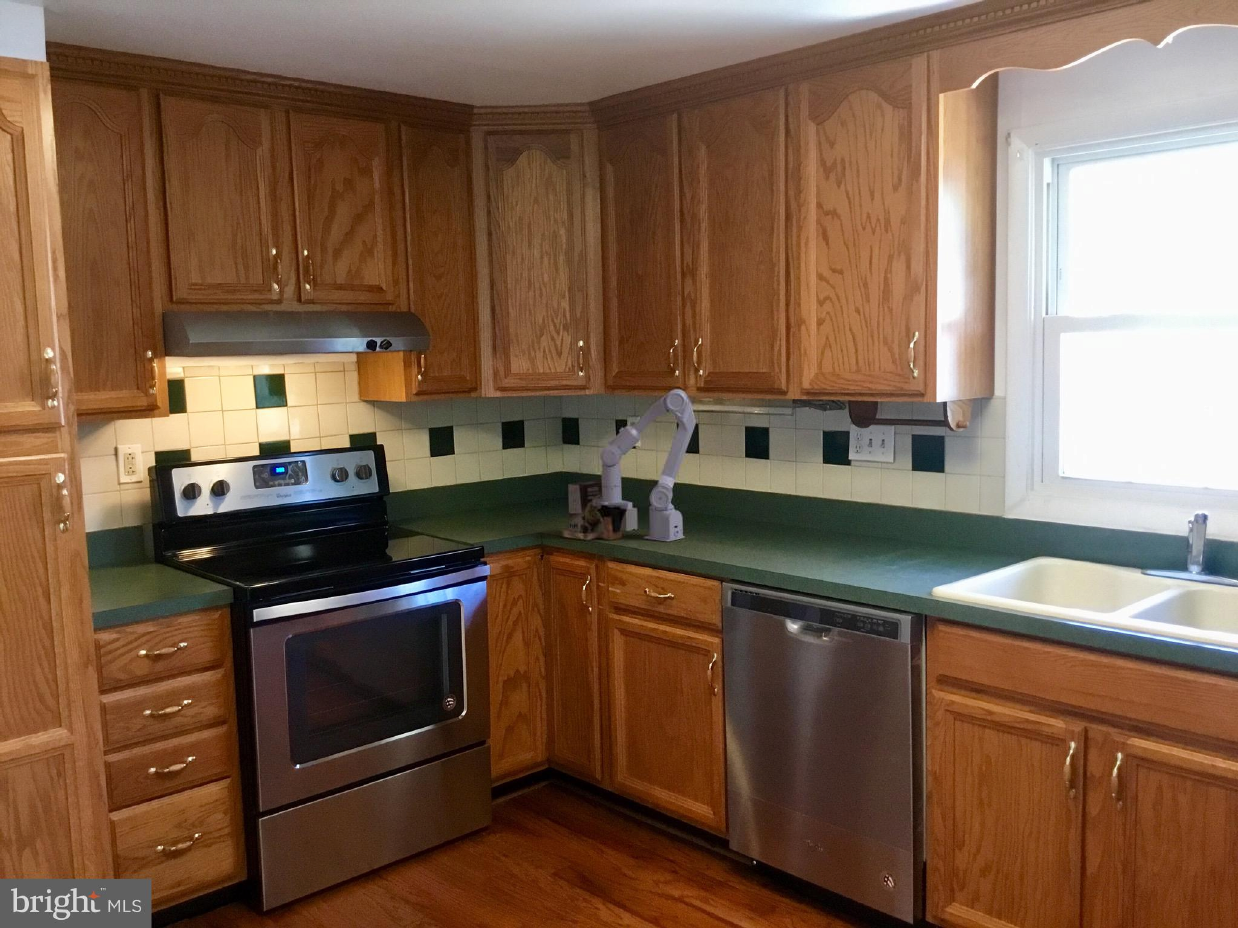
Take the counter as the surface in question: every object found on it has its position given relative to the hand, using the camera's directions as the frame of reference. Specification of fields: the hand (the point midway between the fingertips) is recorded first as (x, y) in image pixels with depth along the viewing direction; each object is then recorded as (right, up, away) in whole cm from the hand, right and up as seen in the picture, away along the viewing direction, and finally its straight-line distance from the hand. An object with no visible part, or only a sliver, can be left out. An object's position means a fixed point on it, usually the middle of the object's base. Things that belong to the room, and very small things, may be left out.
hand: (612, 531), depth 323 cm
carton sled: (-5, -2, +5) cm, 7 cm away
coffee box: (-8, -2, +7) cm, 11 cm away
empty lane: (0, 0, +20) cm, 20 cm away
